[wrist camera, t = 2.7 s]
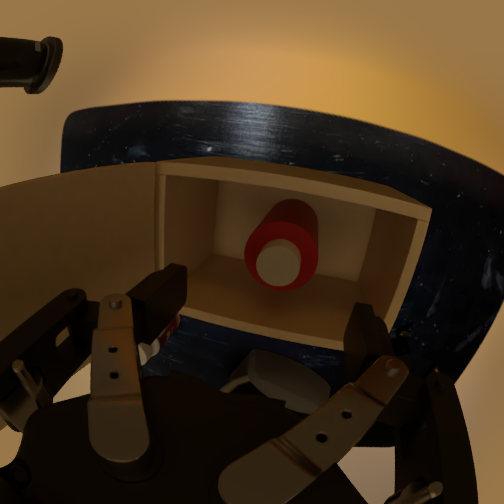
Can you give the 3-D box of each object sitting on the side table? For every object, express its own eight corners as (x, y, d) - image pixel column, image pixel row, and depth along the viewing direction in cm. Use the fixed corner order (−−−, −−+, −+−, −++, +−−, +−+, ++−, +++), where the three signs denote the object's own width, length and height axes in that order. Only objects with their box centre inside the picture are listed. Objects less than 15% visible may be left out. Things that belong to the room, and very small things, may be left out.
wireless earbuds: (412, 349, 28) (418, 366, 25) (358, 363, 30) (360, 381, 27) (411, 321, 26) (418, 337, 23) (354, 336, 29) (356, 354, 26)
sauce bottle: (258, 233, 26) (226, 279, 17) (280, 189, 24) (258, 212, 15) (302, 256, 26) (293, 314, 17) (327, 214, 24) (333, 252, 15)
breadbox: (387, 185, 22) (432, 208, 13) (361, 286, 26) (378, 355, 17) (215, 156, 25) (155, 161, 15) (208, 255, 29) (156, 307, 19)
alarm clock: (349, 387, 32) (346, 510, 15) (304, 419, 36) (285, 521, 19) (247, 333, 32) (190, 465, 15) (213, 374, 36) (160, 479, 19)
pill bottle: (169, 333, 35) (138, 373, 27) (144, 309, 34) (109, 344, 27) (188, 317, 33) (156, 359, 25) (161, 290, 32) (123, 327, 25)
